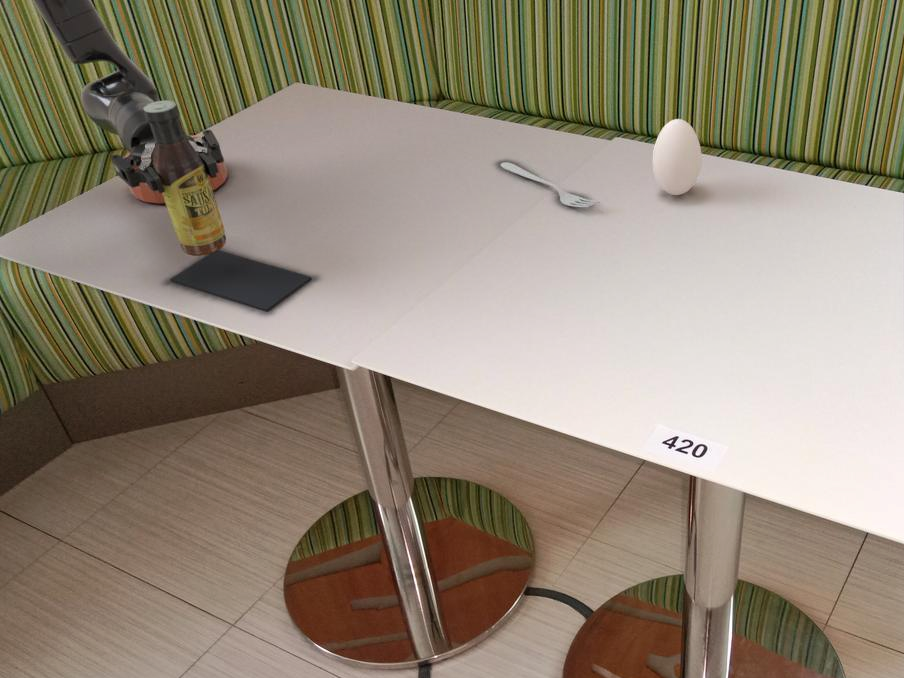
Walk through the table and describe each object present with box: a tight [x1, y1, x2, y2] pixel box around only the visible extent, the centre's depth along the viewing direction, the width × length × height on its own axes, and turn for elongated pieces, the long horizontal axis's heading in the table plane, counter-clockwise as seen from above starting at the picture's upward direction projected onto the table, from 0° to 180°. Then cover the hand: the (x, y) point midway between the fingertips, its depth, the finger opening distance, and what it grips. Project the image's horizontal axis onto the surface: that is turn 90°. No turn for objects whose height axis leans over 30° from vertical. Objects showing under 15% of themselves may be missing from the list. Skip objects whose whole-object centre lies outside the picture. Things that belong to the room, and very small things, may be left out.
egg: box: [652, 118, 702, 196], centre depth 147 cm, size 7×7×12 cm
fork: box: [500, 161, 602, 208], centre depth 153 cm, size 3×24×2 cm, turn 40°
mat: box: [169, 250, 313, 313], centre depth 135 cm, size 18×9×1 cm, turn 62°
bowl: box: [124, 134, 229, 204], centre depth 157 cm, size 15×15×5 cm
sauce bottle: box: [143, 99, 227, 257], centre depth 128 cm, size 7×6×20 cm
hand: (186, 178), depth 126 cm, fingers closed on sauce bottle, 6 cm apart
